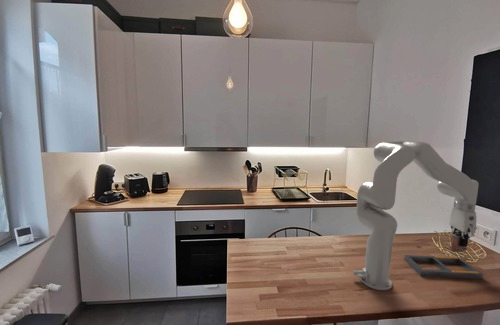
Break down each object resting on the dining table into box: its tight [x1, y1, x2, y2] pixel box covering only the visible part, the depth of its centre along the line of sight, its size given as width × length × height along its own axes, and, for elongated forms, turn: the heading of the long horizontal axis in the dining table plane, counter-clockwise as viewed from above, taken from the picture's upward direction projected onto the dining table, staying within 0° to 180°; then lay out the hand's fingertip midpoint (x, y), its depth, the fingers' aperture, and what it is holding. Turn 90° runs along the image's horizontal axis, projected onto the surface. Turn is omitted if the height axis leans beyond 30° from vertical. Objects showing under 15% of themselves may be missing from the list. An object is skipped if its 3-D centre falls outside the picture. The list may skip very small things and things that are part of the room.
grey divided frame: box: [403, 254, 484, 280], centre depth 122 cm, size 26×14×3 cm, turn 86°
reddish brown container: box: [449, 230, 467, 253], centre depth 119 cm, size 8×3×10 cm, turn 105°
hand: (459, 243), depth 120 cm, fingers closed on reddish brown container, 4 cm apart
